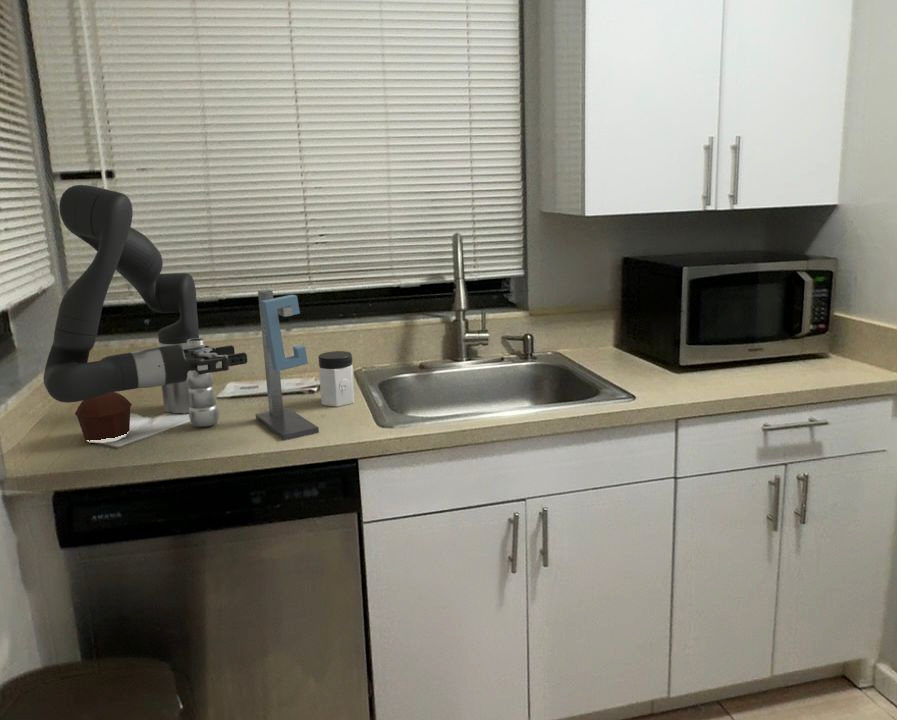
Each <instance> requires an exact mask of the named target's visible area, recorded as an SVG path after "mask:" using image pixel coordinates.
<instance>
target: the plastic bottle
mask: <svg viewBox="0 0 897 720" xmlns="http://www.w3.org/2000/svg"><path fill="white" fill-rule="evenodd" d="M203 346H206V344H205V339H204V338H200V337H199V338H194V339H189V340H187V349H190V348H196V347H203ZM213 373H214V372H213ZM213 373H206V374H201V375H200V374H198V373H197V372H196V370H195V371H189V372H188V373H187V375H188V377H187V383H188V387H189V388H188V389H189V401H190V407H189V413H188V414H189V415H188V418H189V421H190V423H191V424H192V425H193V426H194V427H196V428H197V427H201V428H202V427H210V426H214V425H216V424H217V423H218V421H219V419H220V410H219V408H218V407H219V406H218V404H217V400H216V395H215V392H214V391H215V390H214V385H213V384H214V380H213V379H214V378H213V377H214V376H213Z"/></svg>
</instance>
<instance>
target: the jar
mask: <svg viewBox="0 0 897 720" xmlns="http://www.w3.org/2000/svg"><path fill="white" fill-rule="evenodd" d="M318 366H319V368H318V374H319V376H318V377H319V386H320V387H319V388H320V399H321V400H320V401H321V402H320V403H321V405H322V406H328V407H335V408H337V407H344V406H347V405H352V404H354V403H355V397H356V395H355V394H356V393H355V381H354V379H355V378H354V364H353V354H352V353H351V352H349V351H343V350H335V351H327V352H323V353H320V354H319V355H318Z"/></svg>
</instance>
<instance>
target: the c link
mask: <svg viewBox="0 0 897 720" xmlns="http://www.w3.org/2000/svg"><path fill="white" fill-rule="evenodd" d="M261 303H262V309H263V315H264V320H265V326H266V332H267V338H268V344H269V349H270V355H271V361H272V367H273V370H275V371H277V372H278V371H280V372H281V371H285V370H289V369H292V368H293V369H294V368H297V367H300V366H301V367H302V366H305V365H308V364H309V362H308V356H307V350H306V346H304V345H301V344H299V345H295V346H292V351H293V355H290V356H287V357H286V355H285V354H286V353H285V349H284V343H283V338H282V332H281V331H282V330H281V326H280V320H279V315H278V312H277V309H279V308H283V307H288V306H290V307H292V316H295V315H298V314H299V315H300V314H301V311H300V306H299V298H298V295H295V294H289V295H284V296H278V297H273V299H269V300H264V301H261Z"/></svg>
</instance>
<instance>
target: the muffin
mask: <svg viewBox="0 0 897 720" xmlns="http://www.w3.org/2000/svg"><path fill="white" fill-rule="evenodd" d="M131 408H132V403H131V402H130V401H129V400H128V399H127V398H126V397H125V396H124V395H122V394H121V393H119V392H110V393H107V394H104V395H101V396H98V397H94V398H91V399H87V400H83V401H80V404H79V405H78V407H77V409H76V410H75V412H74V414H75V417H77V420H78V423H79V427H80V429H81V432H82V435H83V437H84V440H89V441H90V440H101V439H106V438H115V437H118V436H121V435H124V434H127V432H128V431H129V430H130V429H131V428H130V425H131Z"/></svg>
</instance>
